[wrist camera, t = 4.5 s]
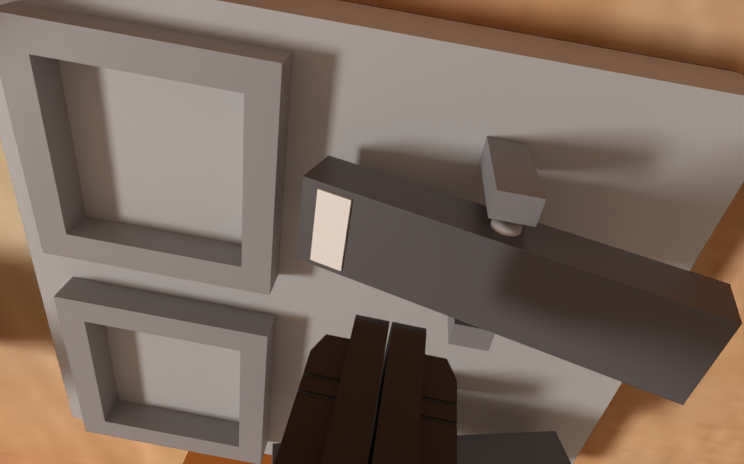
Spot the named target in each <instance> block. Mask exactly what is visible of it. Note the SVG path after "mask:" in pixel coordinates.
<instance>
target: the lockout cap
mask: <svg viewBox="0 0 744 464" xmlns="http://www.w3.org/2000/svg"><path fill="white" fill-rule="evenodd" d="M271 460H272V455H269V454H264V455H263V458H262V462H261V464H271ZM183 464H255V463H250V462H244V461H239V460H234V459H229V458H223V457H218V456H213V455H208V454H202V453H197V452H192V451H188V454H187V456H186V458H185V460H184V462H183Z"/></svg>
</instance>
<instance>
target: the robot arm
mask: <svg viewBox="0 0 744 464" xmlns="http://www.w3.org/2000/svg"><path fill="white" fill-rule="evenodd" d="M388 329H389V321H386V320H381V319H376V318H371V317H366V316H362V315H357V314H356V317H355V320H354V325H353V329H352V333H351V337H350V339H348V338H343V337H338V336H333V335H328V334H326V335H325V336H324V337H323V338H322V339H321V340H320V341H319V342H318V343H317V344H316V345H315V346H314V347H313V348H312V349H311V350H310V353H309V356H308V360H307V363H306V366H305V369H304V373H303V376H302V378H301V382H300V385H299V388H298V392H297V394H296V397H295V400H294V403H293V407H292V410H291V413H290V416H289V419H288V422H287V425H286V429H285V432H284V435H283V438H282V441H281V444H280V447H279V450H278V454H277V457H276V460H275V462H274V464H457V427H456V425H457V408H456V407H457V379H456V377H455V375H454V373H453V371H452V368H451V366H450V364H449V362H448V360H447V359H446V358H441V357H436V356H431V355H426V354H425V348H426V328H421V327H416V326H411V325H406V324H402V323H397V322H392V324H391V329H390V333H389V337H388V342H387V336H388ZM386 342H387V346H386ZM385 348H386V350H385Z"/></svg>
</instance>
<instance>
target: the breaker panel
mask: <svg viewBox="0 0 744 464" xmlns="http://www.w3.org/2000/svg"><path fill="white" fill-rule="evenodd" d="M0 138H1V142H2V145H3V149H4V153H5V157H6V161H7V165H8V169H9V173H10V176H11V180H12V184H13V188H14V192H15V196H16V200H17V203H18V207H19V211H20V215H21V219H22V223H23V227H24V231H25V234H26V238H27V242H28V246H29V250H30V254H31V258H32V262H33V265H34V269H35V273H36V277H37V281H38V285H39V289H40V293H41V296H42V300H43V304H44V308H45V312H46V316H47V320H48V323H49V327H50V331H51V335H52V339H53V343H54V347H55V351H56V354H57V358H58V362H59V366H60V370H61V374H62V378H63V382H64V385H65V389H66V393H67V397H68V401H69V405H70V409H71V413H72V416H73V417H75V418H81V419H83V421H84V425H85V429H86V431H87V432H93V433H98V434H103V435H108V436H113V437H119V438H124V439H129V440H134V441H140V442H145V443H150V444H155V445H161V446H166V447H171V448H176V449H182V450H187V451H192V452H197V453H202V454H208V455H213V456H218V457H223V458H229V459H234V460H239V461H244V462H250V463H255V464H261V462H262V458H263V455H264V454H269V455H272V447H273V443H281V441H282V438H283V435H284V432H285V429H286V425H287V422H288V419H289V416H290V413H291V410H292V407H293V403H294V400H295V397H296V394H297V392H298V388H299V385H300V382H301V378H302V376H303V373H304V369H305V366H306V363H307V360H308V356H309V353H310V350H311V349H312V348H313V347H314V346H315V345H316V344H317V343H318V342H319V341H320V340H321V339H322V338H323V337H324V336H325V335H326V334H328V335H333V336H338V337H343V338H348V339H350V337H351V333H352V329H353V325H354V320H355V317H356V314H357V315H362V316H366V317H371V318H376V319H381V320H386V321H389V329H388V336H387V342H388V337H389V333H390V329H391V324H392V322H397V323H402V324H406V325H411V326H416V327H421V328H426V348H425V354H426V355H431V356H436V357H441V358H446V359H447V360H448V362H449V364H450V366H451V368H452V371H453V373H454V375H455V377H456V379H457V407H456V408H457V425H456V427H457V435H474V434H497V433H519V432H542V431H556V433H557V435H558V438H559V440H560V442H561V444H562V446H563V448H564V450H565V452H566V454H567V456H568V458H569V460H570V462H571V464H573V462H574V461H575V459H576V457H577V456H578V454H579V452H580V451H581V449H582V448H583V446H584V444H585V443H586V441H587V439H588V438H589V436H590V434H591V433H592V431H593V429H594V428H595V426H596V424H597V423H598V421H599V419H600V418H601V416H602V415H603V413H604V411H605V410H606V408H607V406H608V405H609V403H610V401H611V400H612V398H613V396H614V395H615V393H616V391H617V390H618V388H619V387H620V385H621V383H622V382H621V381H618V380H615V379H613V378H610V377H608V376H605V375H602V374H600V373H597V372H594V371H592V370H589V369H587V368H584V367H581V366H579V365H576V364H573V363H571V362H568V361H565V360H563V359H560V358H558V357H555V356H552V355H550V354H547V353H544V352H542V351H539V350H536V349H534V348H531V347H529V346H526V345H523V344H521V343H518V342H515V341H513V340H510V339H507V338H505V337H502V336H500V335H497V334H494V333H492V332H489V331H486V330H484V329H481V328H478V327H476V326H473V325H471V324H468V323H465V322H463V321H460V320H457V319H455V318H452V317H450V316H447V315H444V314H442V313H439V312H436V311H434V310H431V309H428V308H426V307H423V306H421V305H418V304H415V303H413V302H410V301H407V300H405V299H402V298H399V297H397V296H394V295H392V294H389V293H386V292H384V291H381V290H378V289H376V288H373V287H370V286H368V285H365V284H363V283H360V282H357V281H355V280H352V279H349V278H347V277H344V276H341V275H339V274H336V273H334V272H331V271H328V270H326V269H323V268H320V267H318V266H315V265H312V264H310V263H307V262H305V261H302V260H299V259H297V258H296V251H297V239H298V228H299V216H300V204H301V192H302V181H303V176H304V175H305V174H306V173H307V172H309V171H310V170H311V169H312V168H314V167H315V166H316V165H317V164H319V163H320V162H321V161H322V160H324V159H325V158H326V157H327V156H332V157H335V158H338V159H342V160H345V161H348V162H351V163H354V164H357V165H360V166H363V167H366V168H370V169H373V170H376V171H379V172H382V173H385V174H388V175H391V176H395V177H398V178H401V179H404V180H407V181H410V182H413V183H416V184H419V185H423V186H426V187H429V188H432V189H435V190H438V191H441V192H444V193H447V194H451V195H454V196H457V197H460V198H463V199H466V200H469V201H472V202H476V203H479V204H482V205H485V206H486V207H487V214H488V218H490V219H495V220H501V221H506V222H512V223H517V224H522V225H528V226H533V227H536V225H537V223H541V224H544V225H547V226H550V227H553V228H556V229H560V230H563V231H566V232H569V233H572V234H575V235H578V236H581V237H585V238H588V239H591V240H594V241H597V242H600V243H603V244H606V245H609V246H613V247H616V248H619V249H622V250H625V251H628V252H631V253H634V254H637V255H641V256H644V257H647V258H650V259H653V260H656V261H659V262H662V263H666V264H669V265H672V266H675V267H678V268H681V269H684V270H687V271H690V269H691V268H692V266H693V265H694V263H695V261H696V260H697V258H698V256H699V255H700V253H701V251H702V250H703V248H704V246H705V245H706V243H707V241H708V240H709V238H710V237H711V235H712V233H713V232H714V230H715V228H716V227H717V225H718V223H719V222H720V220H721V218H722V217H723V215H724V213H725V212H726V210H727V208H728V207H729V205H730V204H731V202H732V200H733V199H734V197H735V195H736V194H737V192H738V190H739V189H740V187H741V185H742V184H743V182H744V76H743V75H742V74H740V73H738V72H734V71H728V70H723V69H717V68H712V67H706V66H700V65H695V64H689V63H684V62H678V61H673V60H667V59H662V58H656V57H651V56H645V55H640V54H634V53H628V52H623V51H617V50H612V49H606V48H601V47H595V46H590V45H584V44H579V43H573V42H568V41H562V40H556V39H551V38H545V37H540V36H534V35H529V34H523V33H518V32H512V31H507V30H501V29H496V28H490V27H484V26H479V25H473V24H468V23H462V22H457V21H451V20H446V19H440V18H435V17H429V16H424V15H418V14H412V13H407V12H401V11H396V10H390V9H385V8H379V7H374V6H368V5H363V4H357V3H352V2H346V1H340V0H0ZM387 342H386V346H387ZM385 350H386V348H385Z"/></svg>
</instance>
